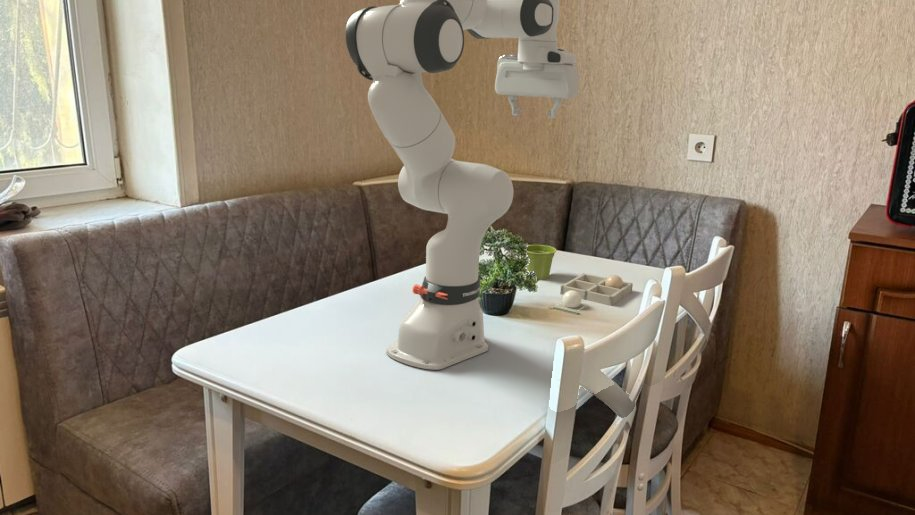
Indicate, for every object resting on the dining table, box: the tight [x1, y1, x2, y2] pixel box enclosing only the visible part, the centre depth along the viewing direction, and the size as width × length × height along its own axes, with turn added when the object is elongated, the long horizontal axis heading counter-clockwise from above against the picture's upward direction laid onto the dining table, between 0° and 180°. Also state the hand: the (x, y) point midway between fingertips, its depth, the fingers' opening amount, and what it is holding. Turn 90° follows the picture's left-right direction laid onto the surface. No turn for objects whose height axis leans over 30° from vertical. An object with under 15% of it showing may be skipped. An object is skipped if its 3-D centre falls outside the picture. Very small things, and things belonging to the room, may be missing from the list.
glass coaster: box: [553, 300, 589, 316], centre depth 170 cm, size 6×6×1 cm
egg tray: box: [560, 273, 633, 307], centre depth 179 cm, size 14×14×3 cm
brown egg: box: [605, 274, 624, 289], centre depth 180 cm, size 5×5×5 cm
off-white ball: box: [561, 290, 582, 309], centre depth 169 cm, size 5×5×5 cm
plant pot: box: [526, 244, 557, 282], centre depth 191 cm, size 9×9×9 cm
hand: (533, 116), depth 160 cm, fingers open, 8 cm apart
